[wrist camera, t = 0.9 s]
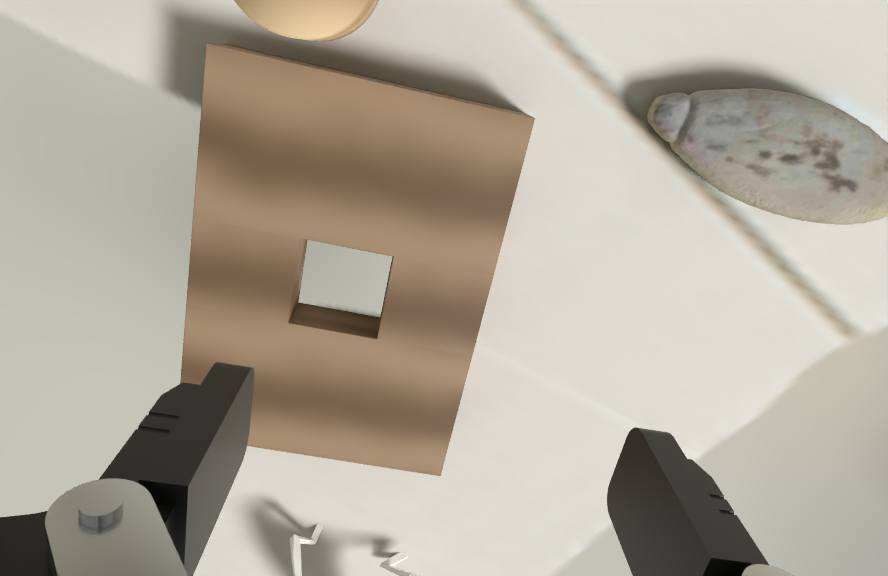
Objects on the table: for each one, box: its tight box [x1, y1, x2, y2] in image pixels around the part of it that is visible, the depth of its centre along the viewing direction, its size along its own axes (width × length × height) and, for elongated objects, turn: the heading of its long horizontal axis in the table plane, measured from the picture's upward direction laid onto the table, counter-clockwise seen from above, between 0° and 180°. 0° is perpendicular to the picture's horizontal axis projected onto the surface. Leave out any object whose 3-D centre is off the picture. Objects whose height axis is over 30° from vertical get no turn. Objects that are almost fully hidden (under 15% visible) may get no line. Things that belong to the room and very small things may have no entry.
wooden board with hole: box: [180, 43, 535, 476], centre depth 34 cm, size 22×16×3 cm
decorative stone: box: [647, 88, 888, 225], centre depth 33 cm, size 6×16×3 cm, turn 73°
